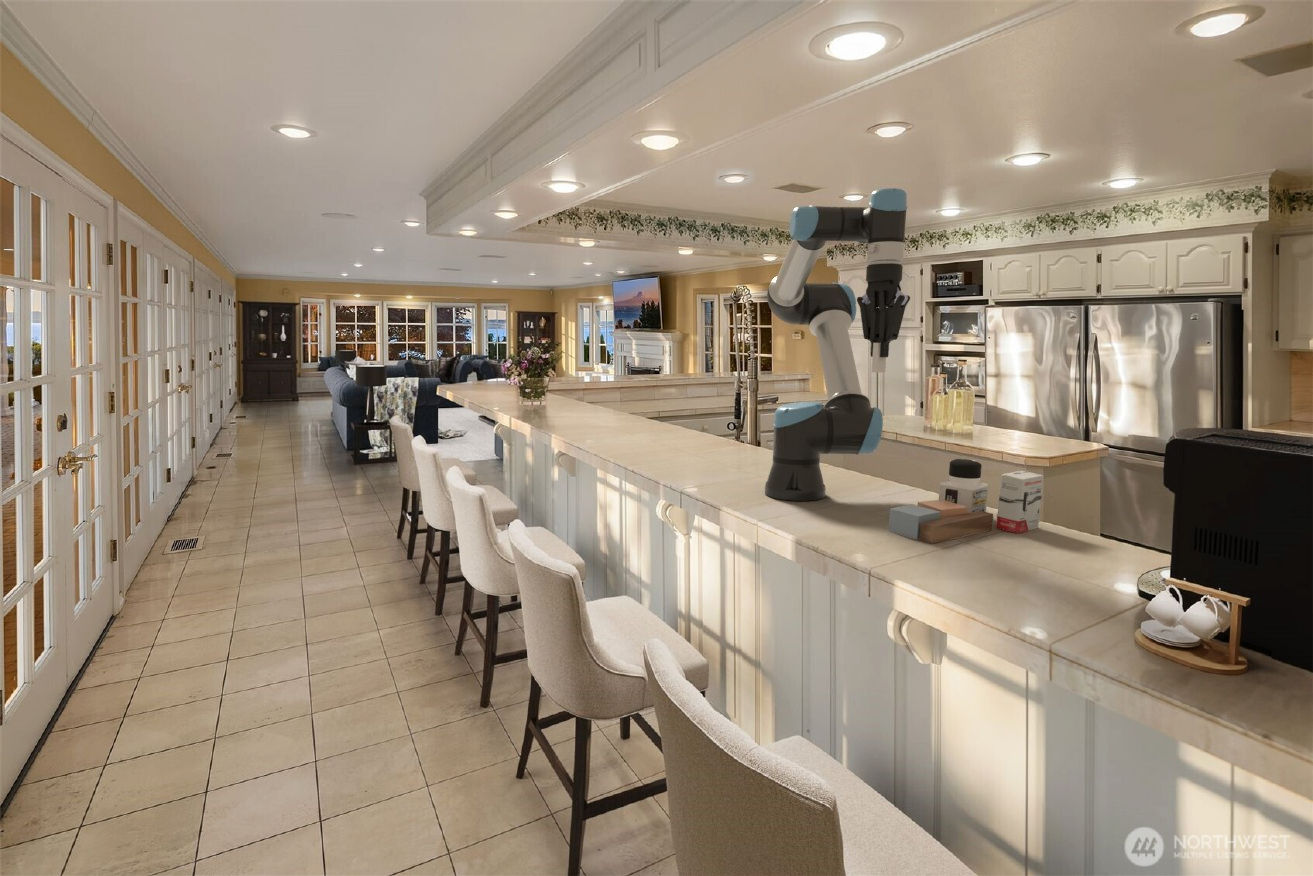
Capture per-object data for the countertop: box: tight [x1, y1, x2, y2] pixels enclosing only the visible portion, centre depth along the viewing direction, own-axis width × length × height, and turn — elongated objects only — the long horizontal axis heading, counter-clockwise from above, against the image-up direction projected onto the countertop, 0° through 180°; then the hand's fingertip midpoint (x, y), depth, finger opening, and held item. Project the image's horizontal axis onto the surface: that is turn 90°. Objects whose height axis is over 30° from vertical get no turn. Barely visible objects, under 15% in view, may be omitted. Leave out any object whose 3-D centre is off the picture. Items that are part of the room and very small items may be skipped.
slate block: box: [888, 504, 941, 540], centre depth 146 cm, size 7×7×5 cm
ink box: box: [995, 470, 1045, 534], centre depth 149 cm, size 8×5×12 cm, turn 123°
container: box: [938, 458, 989, 513], centre depth 158 cm, size 8×8×13 cm
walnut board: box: [919, 511, 994, 545], centre depth 144 cm, size 3×20×4 cm, turn 122°
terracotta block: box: [917, 499, 968, 519], centre depth 150 cm, size 7×7×5 cm
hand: (878, 372), depth 157 cm, fingers closed
